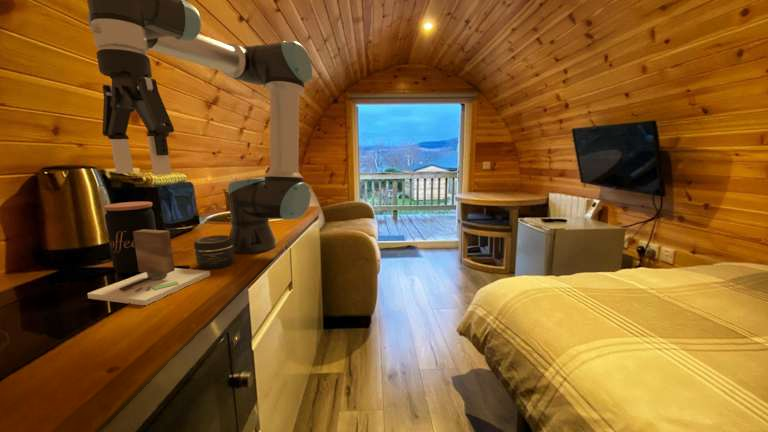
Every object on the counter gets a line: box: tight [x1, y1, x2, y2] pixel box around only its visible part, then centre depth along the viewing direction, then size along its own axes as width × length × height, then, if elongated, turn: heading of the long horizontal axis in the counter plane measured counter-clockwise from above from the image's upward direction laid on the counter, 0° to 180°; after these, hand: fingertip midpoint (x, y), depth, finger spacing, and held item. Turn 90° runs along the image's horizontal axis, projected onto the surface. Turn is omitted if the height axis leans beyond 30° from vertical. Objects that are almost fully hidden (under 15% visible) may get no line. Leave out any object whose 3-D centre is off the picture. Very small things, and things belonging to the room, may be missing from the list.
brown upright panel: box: [119, 229, 175, 291], centre depth 77 cm, size 11×8×12 cm
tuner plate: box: [87, 267, 211, 306], centre depth 80 cm, size 18×16×1 cm
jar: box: [193, 234, 235, 271], centre depth 94 cm, size 10×10×8 cm
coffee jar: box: [103, 201, 157, 274], centre depth 92 cm, size 11×11×18 cm
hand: (142, 173), depth 63 cm, fingers open, 13 cm apart
